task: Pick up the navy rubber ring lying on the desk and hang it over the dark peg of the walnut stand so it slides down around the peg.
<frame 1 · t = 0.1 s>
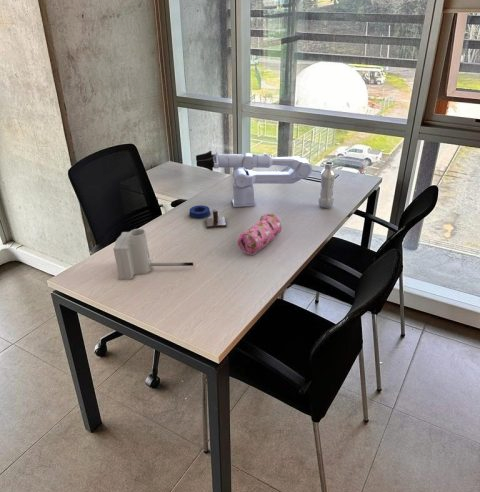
hand: (196, 160, 197), 22 cm above the table, tool horizontal, fingers open, 7 cm apart
stand: (215, 223, 193), on the table
pencil case: (260, 244, 176), on the table
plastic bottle: (325, 206, 204), on the table
ring: (199, 214, 201), on the table
electronic device: (157, 270, 162), on the table
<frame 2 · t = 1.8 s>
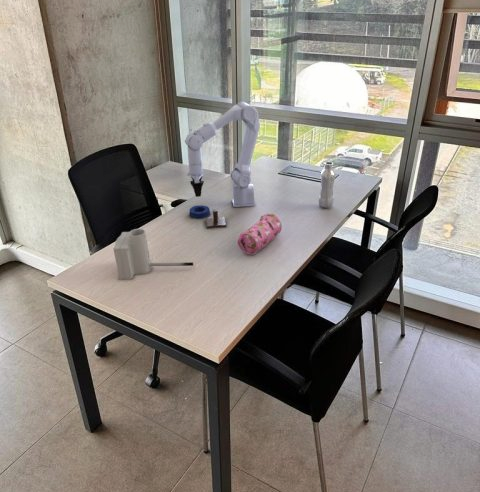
hand: (198, 192, 199), 9 cm above the table, tool pointing down, fingers open, 7 cm apart
nothing on the table moved.
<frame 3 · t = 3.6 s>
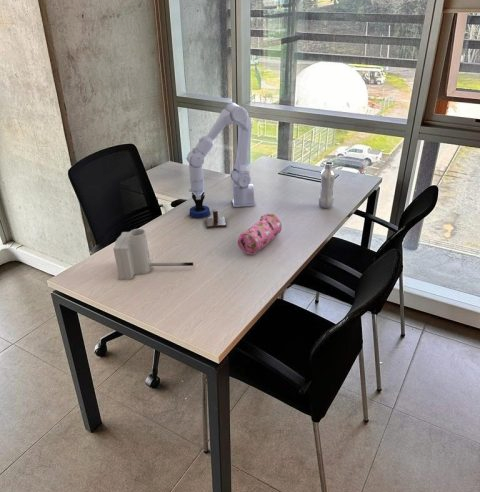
hand: (199, 208, 203), 1 cm above the table, tool pointing down, fingers closed on ring, 2 cm apart
ring: (199, 214, 201), on the table, touching gripper
everything else where it was.
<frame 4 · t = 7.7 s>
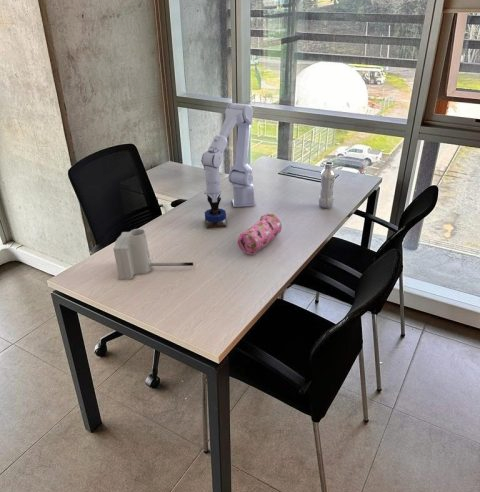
hand: (214, 211, 193), 4 cm above the table, tool pointing down, fingers closed on ring, 2 cm apart
ring: (215, 217, 191), point 3 cm above the table, touching gripper
everything else where it was.
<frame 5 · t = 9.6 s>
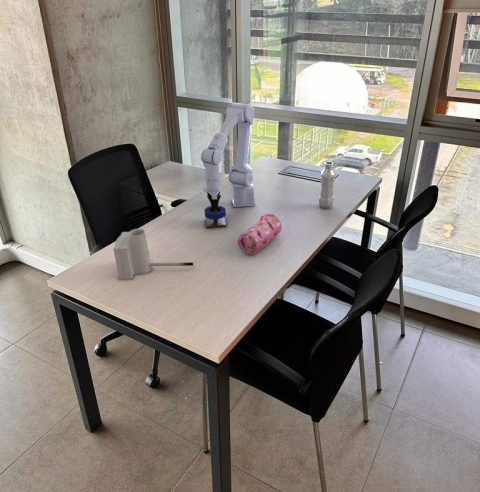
hand: (214, 208, 193), 5 cm above the table, tool pointing down, fingers closed on ring, 2 cm apart
ring: (215, 215, 191), point 4 cm above the table, touching gripper
everything else where it was.
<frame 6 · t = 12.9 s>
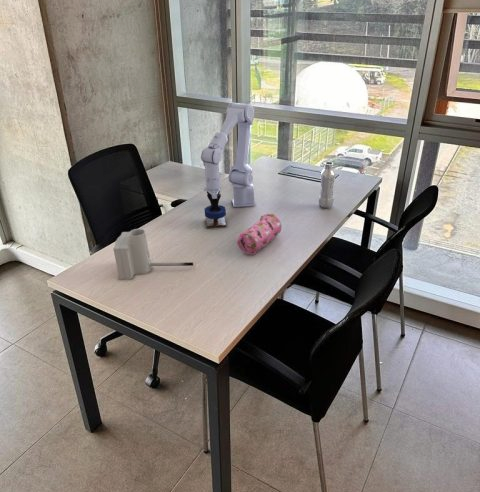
hand: (214, 208, 193), 6 cm above the table, tool pointing down, fingers closed on ring, 2 cm apart
ring: (215, 214, 191), point 4 cm above the table, touching gripper
everything else where it was.
when the fingers open (7 cm above the table, at t = 15.8 s): ring drops 5 cm, resting on stand.
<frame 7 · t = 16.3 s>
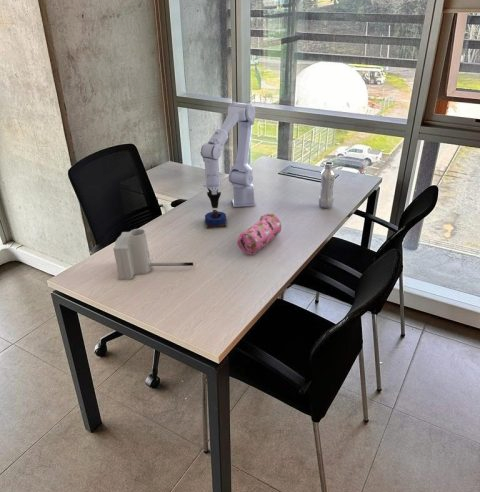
hand: (214, 204, 192), 7 cm above the table, tool pointing down, fingers open, 7 cm apart
ring: (215, 220, 193), point 1 cm above the table, touching stand
everything else where it was.
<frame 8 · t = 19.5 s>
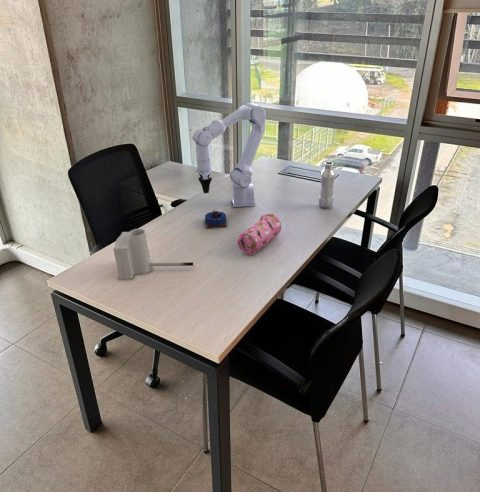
hand: (205, 189, 198), 10 cm above the table, tool pointing down, fingers open, 7 cm apart
nothing on the table moved.
at the end: ring 0.6 cm off-centre on the stand, point 1.0 cm above the stand's base; the gripper is holding nothing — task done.
